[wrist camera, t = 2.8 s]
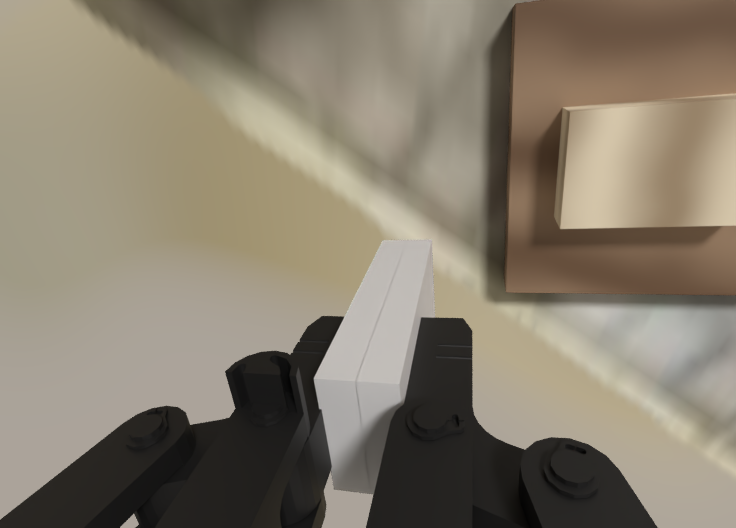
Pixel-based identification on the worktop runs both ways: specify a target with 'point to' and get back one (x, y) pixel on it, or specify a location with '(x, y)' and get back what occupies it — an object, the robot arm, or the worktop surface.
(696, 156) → the birch tile
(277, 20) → the worktop surface
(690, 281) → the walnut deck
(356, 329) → the robot arm
